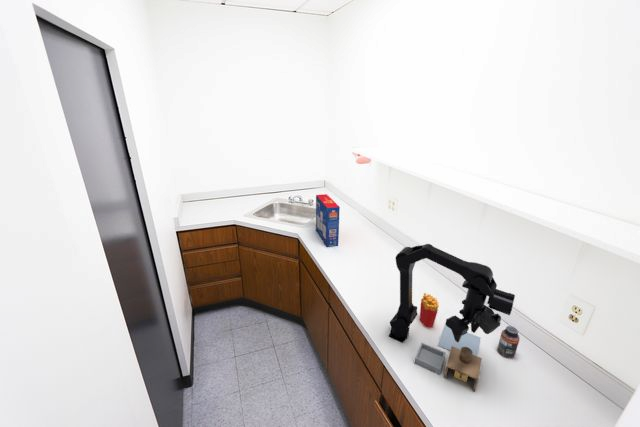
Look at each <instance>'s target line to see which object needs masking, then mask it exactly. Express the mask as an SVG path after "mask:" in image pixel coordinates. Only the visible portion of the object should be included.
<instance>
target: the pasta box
mask: <svg viewBox="0 0 640 427" xmlns="http://www.w3.org/2000/svg"><path fill="white" fill-rule="evenodd" d="M340 207H341V206H339V205H338V204H337V203H336V201H334V200H333V199H332V198H331V197H330V196H329V194H327V193H325V194H315V232H316V233H317V235H318V234H319V235H318V236H319V237H321V238H320V239H321V240H322V242H323V244H324V245H325V248H333V247H339V240H340V239H339V238H340V237H339V235H340V234H339V233H340V231H339V230H340Z"/></svg>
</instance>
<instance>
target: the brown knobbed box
mask: <svg viewBox="0 0 640 427" xmlns="http://www.w3.org/2000/svg"><path fill="white" fill-rule="evenodd" d="M472 353H473V352H472V350H471V349H470V348H468V347H462V348H461V350H460V349H458V348H455V347H453V346H452V347H451V350H450V351H449V355H448V358H447V361H446V364H445V368H444V369H445V371H444V375H443V378H444V379H446V378H447V374H448V370H449V369H450V370H453V371H455V370H456V371H458V372H460V373H463V374H465V375H467V376H468V377H470V378H472V379H474V384H473V388H472V392H476V389H477V386H478V383H479V382H478V381H479V380H480V379H479V378H480V373H481V364H482V360H483V359H482V357H480V356H479V355H478V356H475V355H473V354H472Z"/></svg>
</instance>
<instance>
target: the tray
mask: <svg viewBox="0 0 640 427" xmlns="http://www.w3.org/2000/svg"><path fill="white" fill-rule="evenodd" d="M416 352H417V353H416V355H415V357H414V363H413V364H414V365H417V366H419V367H422V368H424V369H426V370H428V371H430V372H432V373H435V374H437V375H440V374H441V370H442V367H443V364H444V360H445V358H446V357H445V356H446V353H447V352H446V351H443V350H441V349H439V348H436V347H434V346H431V345H430V344H429V345H428V344H427V343H424V342H421V343H420V345H419V347H418V350H417V351H416Z"/></svg>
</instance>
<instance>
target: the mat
mask: <svg viewBox="0 0 640 427" xmlns="http://www.w3.org/2000/svg"><path fill="white" fill-rule="evenodd" d="M481 340H482V339H481V337H480V336H478V335H476V334H474V333H469V332H468V333H466V334H464V335H462V336H461V339H460V340H459V342H456V341H455V339H454V336H453V333H452V330H451V329H450V328H449V327H447V326H446V324H445V323H444V326H443V329H442V332H441V335H440V338H439V341H438V344H437V347H440V348H443V349H444V350H448V351H449V352H450V350H451V347H452V346H453V347H455V348H458V349H460V350H461V348H462V347H468V348H470V349H471V350H472V352H473V353H472V354H473V355H475V356H478V357H479V350H480V345H481Z"/></svg>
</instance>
